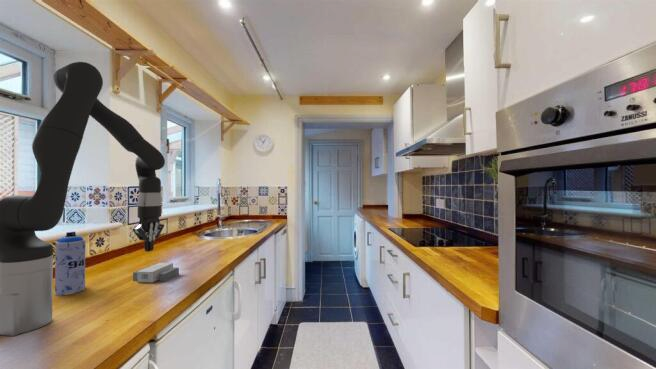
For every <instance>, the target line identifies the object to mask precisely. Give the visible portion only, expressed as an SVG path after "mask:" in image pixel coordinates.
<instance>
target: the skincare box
mask: <svg viewBox="0 0 656 369" xmlns="http://www.w3.org/2000/svg"><path fill="white" fill-rule="evenodd" d="M149 266H150V267H149ZM149 266H147V267H148V268H147V267H145V269H144V268H142V269H143V270H141V269H139V270H140V271H138V270H137V271H138V272H137V283H148V284H149V283H151V284H152V283H155V282H157V281H160V273H162V272H165V271H167V270H169V269H172V268H174V263H173V262H158V263H156V264H154V265H149Z"/></svg>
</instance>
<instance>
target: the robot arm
mask: <svg viewBox="0 0 656 369" xmlns="http://www.w3.org/2000/svg"><path fill="white" fill-rule="evenodd" d="M52 80H53V83H54V85H55V86H56V88H57V89H58V91H60V92H61V93H62V94H61V96H60V98H58V100H57V102H56V103H55V104H54V105H53V106H52V107H51V109H49V111H48V112H47V114H46V115H45V116H44V118H43V119H42V120H41V122H40V123H39V125H38V128H37V131H36V133H35V134H34V135H35V136H34V138H33V140H32V144H31V149H32V153H33V155H34V159H35V160H36V163H37V166H38V167H39V172H40V176H39V181H38V184H37V188H36V190H35V192H34V194H13V195H7V196H4V197H2V198H1V199H0V336H11V337H14V336H17V335H19V334H23V333H26V332H27V333H28V332H31V331H34V330H37V329H39V328H40V329H41V327H44V326H46V325H48V324H50V323H51V322H52V321H53V294H54V293H53V292H54V291H53V290H54V288H53V285H54V284H53V280H54V279H53V277H54V276H53V275H54V269H53V268H54V247H53V246H54V245H53V244H52V243H49V242H47V241H45V240H42V239H41V238H39V237H38V236H37V234H36V232H45V231H49V230H51V229H54V228H55V227H56V226H57V225H58V224H59V223H60V220H61V219H62V217H63V213H64V210H65V206H66V199H67V195H68V194H67V193H68V188H69V185H70V184H69V183H70V179H71V176H72V172H73V169H74V165H75V161H76V159H77V155H78V153H79V151H80V148H81V145H82V141H83V139H84V134H85V130H86V128H87V125H88V123H89V122H88V121H89V119H90V117H91V118H92V119H94V120H95V121H96V122H97V123H99V125H101V126H102V127H103V128H104V129H105V130H106V131H107V132H108V133H109V134H110V135H111V136H112V137H113V138H114V139H115V140H116V141H117V143H119V144H120V146H122V148H123V149H125V150H126V151H127V152H129V153H133V154H134V155H136V156H137V157H136V158H135V161H134V162H135V171H136V175H137V179H138V196H137V218H138V219H139V221H138V225H137V226H136V227H133V228H132V232H133V233H134V234H135V235H136V236H135V237H137V238H138V240H139V241H143V242H144V249H143V250H144V251H145V252H152V251H154V249H155V240H156V239H159V237H160V235H161V233H162V232H163V229H164V227H165V224H163V223H161V219H160V217H162V202H163V201H162V182H161V181H162V180H161V179H160V178H159V177H157V174H156V173H157V172H156V171H159V170H161V169H163V168H164V166H165V164H166V160H165V157H164V155H163V154H162V153H161V151H159V149H158V148H156V147H155V146H154V145H153V144H152V143H150V142H149V141H147V140H146V139H145V138H144V137H143V135H141V133H140V132H139V131H138V130H137V128H135V126H134V125H133V124H131V122H130V121H128V120H127V119H126V118H124V117H123V116H120V115H119V114H117V112H114V111H113V110H112V109H110V108H108V107H107V106H106V105H104V103H102V102H101V101H100V100H99V98H98V97H99V95H100V93H101V91H102V89H103V85H104V81H103V76H102V74H101V72H100V70H98V68H97V67H95V65H92V64H91V63H88V62H87V61H86V62H85V61H76V62H72V63H69V64H67V65H64V66H63V67H60V68H59V69H57V70H55V72H54V73H53V76H52Z"/></svg>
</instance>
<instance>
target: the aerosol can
mask: <svg viewBox="0 0 656 369" xmlns="http://www.w3.org/2000/svg"><path fill="white" fill-rule="evenodd" d="M57 240H58V241H56V243H55V245H54V246H55V252H54V253H55V255H54V257H55V260H54V261H55V262H54V268H55V269H54V270H55V271H54V291H53V292H54V293H53V294H54V295H55V296H66V295H67V296H68V295H72V294H76V293H79V292H83V291H84V290H86V289H85V288H87V287H86V240H85V238H84V237H82V236H80V235H79V234H77V233H76V231H69V232H66V234H65V236H63V237H61V238H59V239H57ZM82 290H83V291H82Z"/></svg>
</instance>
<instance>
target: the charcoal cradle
mask: <svg viewBox="0 0 656 369" xmlns="http://www.w3.org/2000/svg"><path fill="white" fill-rule="evenodd" d="M150 266H151V265H149V266H147V267H145V268H148V267H150ZM145 268H141V269H139V270H136V271H133V272H132V281H137V272H138V271H140V270H143V269H145ZM179 273H180V268H179V267H174V266H173V268H172V269H169V270H167V271H165V272H162V273H160V279H159V283H165V282H168V281H170V280H171V279H173V278H176V277H178V276H179V275H180V274H179Z"/></svg>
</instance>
